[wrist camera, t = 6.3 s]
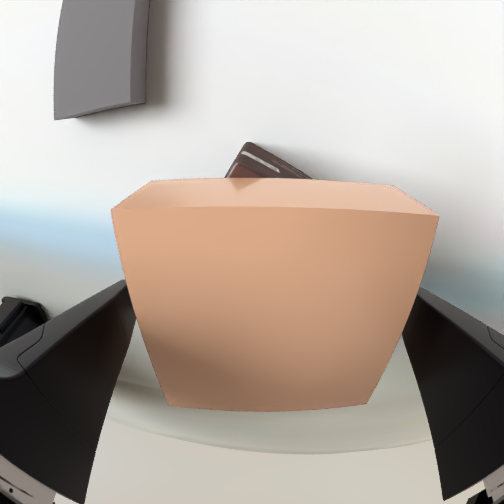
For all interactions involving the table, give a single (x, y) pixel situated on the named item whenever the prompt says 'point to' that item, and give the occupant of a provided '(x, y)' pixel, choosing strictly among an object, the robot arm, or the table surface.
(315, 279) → the tile
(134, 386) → the table surface
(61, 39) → the block
